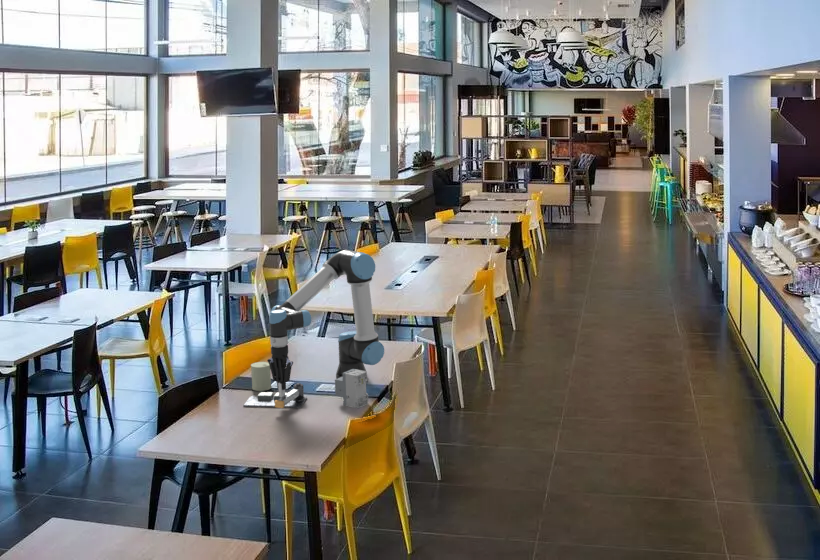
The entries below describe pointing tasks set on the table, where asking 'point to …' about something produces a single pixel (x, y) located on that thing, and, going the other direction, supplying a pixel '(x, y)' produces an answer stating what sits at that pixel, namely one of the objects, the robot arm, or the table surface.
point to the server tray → (271, 401)
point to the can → (261, 376)
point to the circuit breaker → (352, 388)
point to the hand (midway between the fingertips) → (282, 396)
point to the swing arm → (290, 396)
